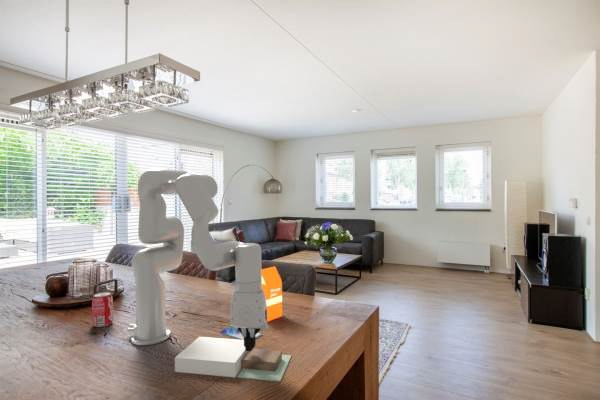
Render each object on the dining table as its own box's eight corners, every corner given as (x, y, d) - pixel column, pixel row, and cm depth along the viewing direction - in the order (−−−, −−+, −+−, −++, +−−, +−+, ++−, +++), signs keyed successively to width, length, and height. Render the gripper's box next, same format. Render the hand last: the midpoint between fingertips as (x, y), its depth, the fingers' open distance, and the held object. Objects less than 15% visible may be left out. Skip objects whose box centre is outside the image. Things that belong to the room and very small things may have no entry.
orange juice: (253, 317, 132) (253, 268, 132) (270, 311, 138) (269, 265, 138) (266, 322, 127) (265, 271, 126) (282, 316, 133) (282, 267, 133)
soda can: (110, 319, 131) (110, 290, 131) (115, 324, 126) (115, 293, 126) (90, 324, 126) (89, 294, 126) (94, 329, 121) (94, 298, 121)
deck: (175, 371, 91) (174, 357, 91) (199, 348, 105) (199, 336, 105) (235, 377, 87) (235, 362, 87) (252, 353, 101) (252, 340, 101)
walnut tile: (241, 368, 92) (241, 359, 92) (250, 356, 98) (249, 348, 98) (275, 371, 90) (275, 362, 90) (281, 359, 96) (281, 350, 96)
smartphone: (249, 341, 108) (218, 332, 117) (249, 344, 109) (218, 334, 117) (263, 333, 115) (232, 324, 123) (263, 336, 115) (232, 327, 123)
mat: (237, 377, 87) (237, 376, 87) (254, 353, 101) (254, 352, 101) (280, 381, 85) (280, 380, 85) (291, 356, 99) (291, 355, 99)
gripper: (219, 288, 92) (220, 353, 92) (269, 290, 89) (271, 357, 89) (229, 282, 99) (230, 341, 99) (277, 283, 96) (278, 345, 96)
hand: (249, 348), depth 94 cm, fingers closed
